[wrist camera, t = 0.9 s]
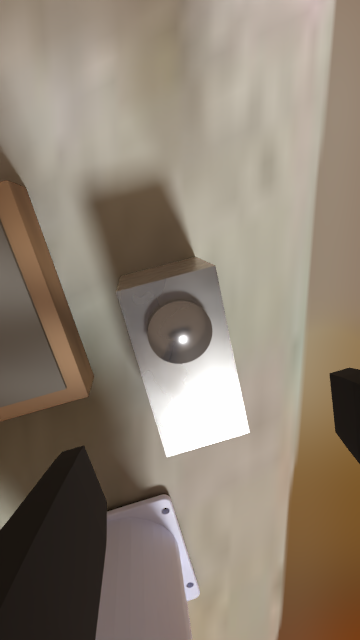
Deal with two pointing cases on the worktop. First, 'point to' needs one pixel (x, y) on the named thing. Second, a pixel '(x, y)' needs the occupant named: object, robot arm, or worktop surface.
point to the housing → (184, 353)
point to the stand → (34, 318)
